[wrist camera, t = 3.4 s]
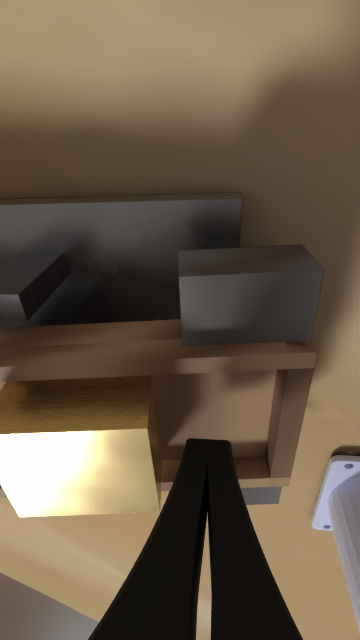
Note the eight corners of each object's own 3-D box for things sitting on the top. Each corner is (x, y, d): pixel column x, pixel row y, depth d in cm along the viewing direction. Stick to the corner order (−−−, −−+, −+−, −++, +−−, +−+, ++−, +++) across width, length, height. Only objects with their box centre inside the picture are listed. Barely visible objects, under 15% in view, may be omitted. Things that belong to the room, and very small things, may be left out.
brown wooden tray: (301, 244, 11) (333, 279, 9) (268, 464, 17) (282, 516, 15) (-299, 275, 11) (-414, 316, 9) (-116, 479, 17) (-158, 533, 15)
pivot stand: (240, 192, 12) (248, 231, 9) (229, 437, 20) (231, 516, 16) (-138, 203, 14) (-270, 239, 10) (-18, 423, 22) (-70, 492, 18)
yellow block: (152, 370, 12) (147, 428, 9) (162, 450, 14) (159, 511, 12) (9, 376, 12) (-28, 436, 10) (43, 455, 14) (19, 517, 12)
